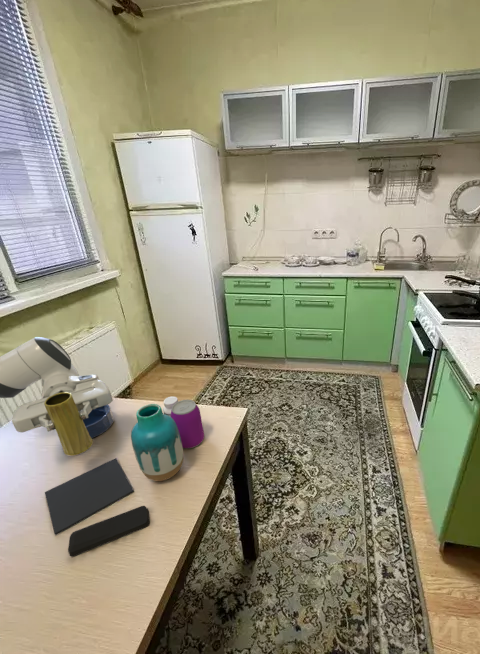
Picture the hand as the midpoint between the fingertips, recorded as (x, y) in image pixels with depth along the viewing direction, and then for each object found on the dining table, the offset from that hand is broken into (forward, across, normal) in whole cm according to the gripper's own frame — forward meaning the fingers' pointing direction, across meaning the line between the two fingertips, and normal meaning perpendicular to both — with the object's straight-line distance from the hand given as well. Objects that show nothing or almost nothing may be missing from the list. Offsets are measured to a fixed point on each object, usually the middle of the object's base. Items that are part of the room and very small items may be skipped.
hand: (68, 422), depth 74 cm
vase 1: (-1, 0, +8) cm, 8 cm away
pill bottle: (-6, +24, +17) cm, 30 cm away
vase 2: (+11, +16, +17) cm, 25 cm away
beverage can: (+4, +25, +17) cm, 30 cm away
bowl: (-21, +2, +17) cm, 27 cm away
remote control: (+20, +2, +17) cm, 26 cm away
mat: (+6, -1, +17) cm, 18 cm away
